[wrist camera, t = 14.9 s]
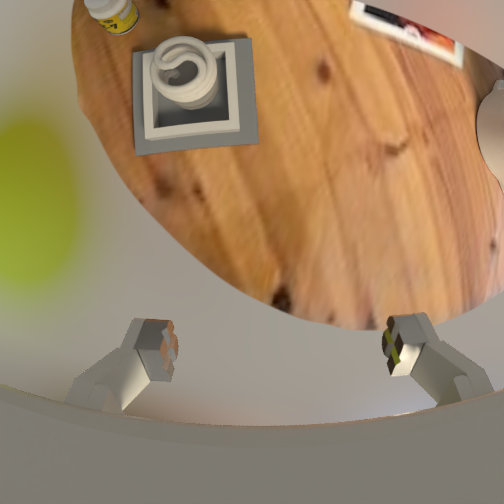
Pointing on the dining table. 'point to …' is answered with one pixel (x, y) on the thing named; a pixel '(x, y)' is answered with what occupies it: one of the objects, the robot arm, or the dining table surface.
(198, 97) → the light bulb
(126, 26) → the supplement bottle
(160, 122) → the bulb socket
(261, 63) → the dining table surface
